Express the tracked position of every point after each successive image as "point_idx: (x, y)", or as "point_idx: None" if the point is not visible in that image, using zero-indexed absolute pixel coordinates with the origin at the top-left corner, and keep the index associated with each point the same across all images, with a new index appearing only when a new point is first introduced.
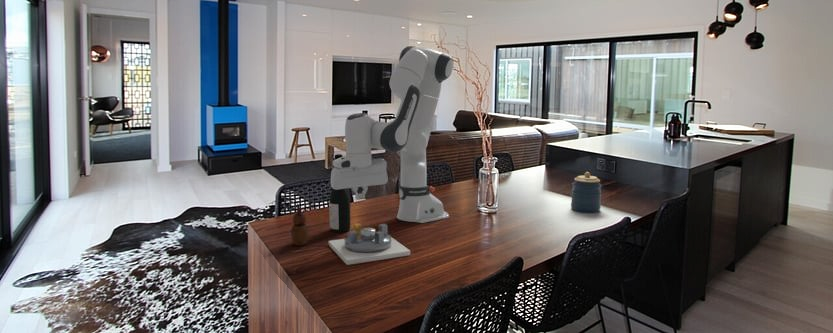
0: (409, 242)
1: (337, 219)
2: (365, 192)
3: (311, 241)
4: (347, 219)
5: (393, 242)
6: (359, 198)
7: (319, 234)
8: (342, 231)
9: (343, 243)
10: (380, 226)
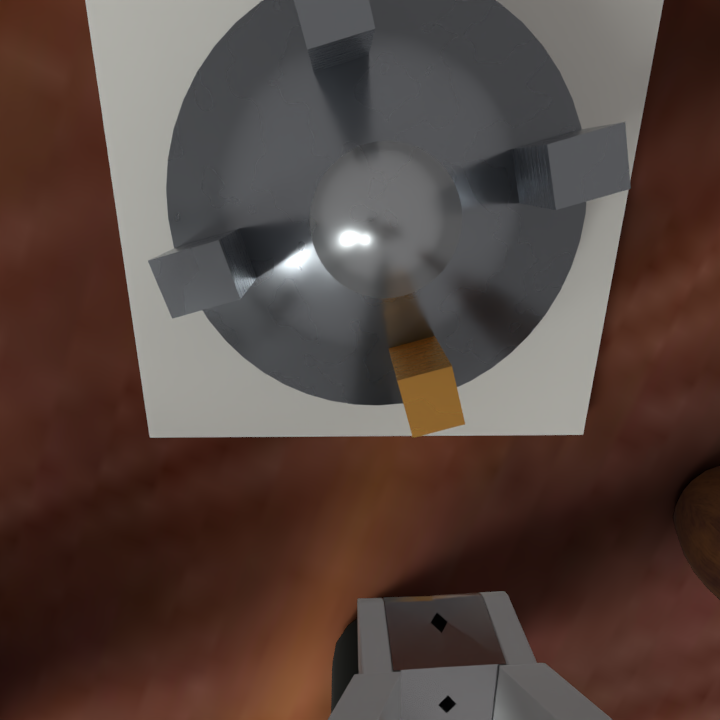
0: (15, 242)
1: None
2: (351, 705)
3: (628, 520)
4: None
5: (155, 199)
6: (467, 600)
7: (533, 616)
8: None
9: None
10: (230, 266)
